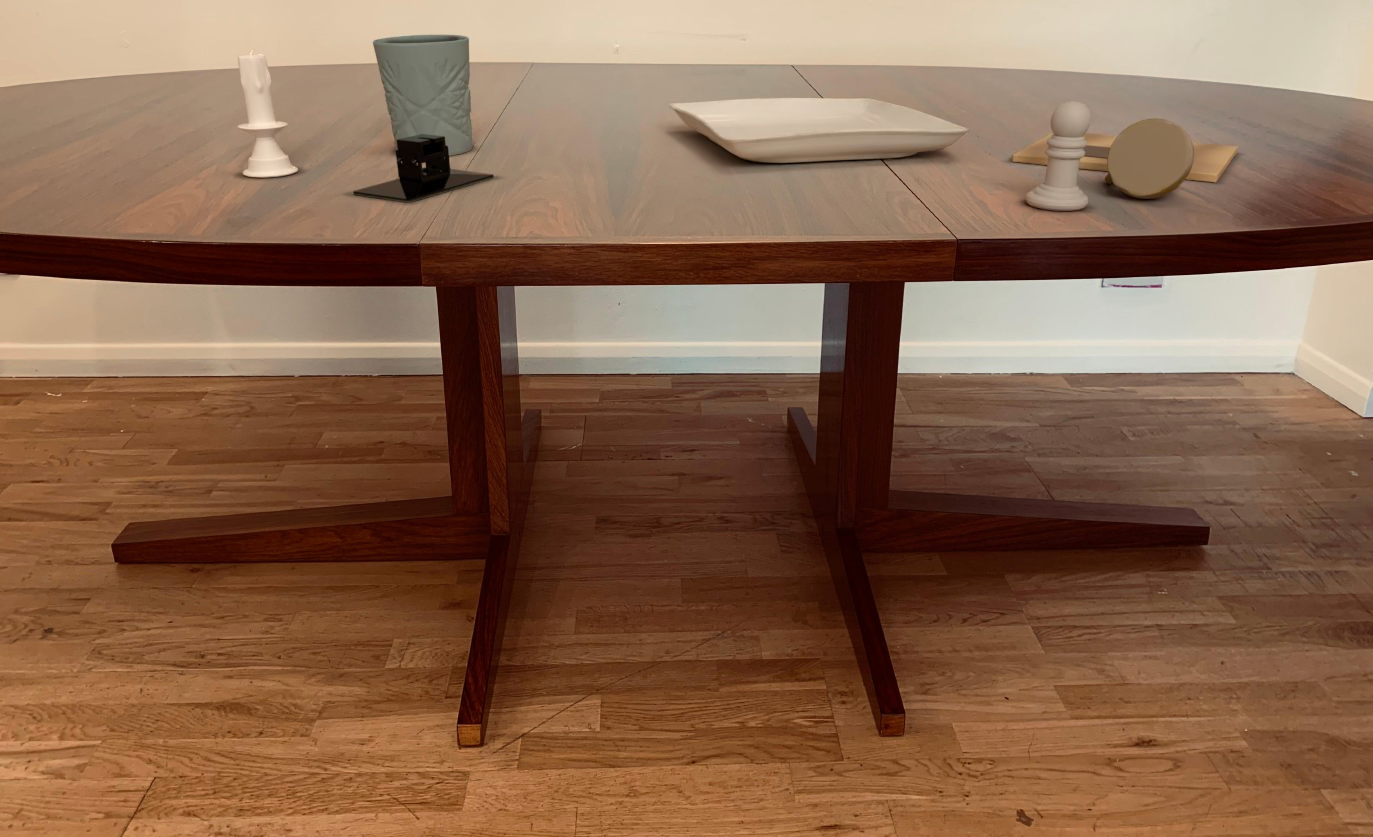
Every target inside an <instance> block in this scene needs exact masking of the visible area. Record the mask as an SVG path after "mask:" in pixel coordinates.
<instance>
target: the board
mask: <svg viewBox="0 0 1373 837" xmlns="http://www.w3.org/2000/svg"><path fill="white" fill-rule="evenodd" d="M1053 134H1054V133H1053V132H1050V133H1049V134H1047V135H1045V136H1044V137H1042V138H1040V139H1038V140H1036V141H1034V142H1033V143H1031V144H1029V145H1027V146H1025V147H1024V148H1022V149H1020V150H1018V151H1017V152H1015V153H1014V154H1012V159H1011V160H1012V161H1011V162H1013V163H1021V164H1029V165H1042V166H1047V162H1048V156H1047V155H1046V154H1045V151H1046V149H1047V148H1048V144H1047V139H1048V138H1050V137H1051V136H1052V135H1053ZM1083 136H1084V138H1085V140H1086V141H1087V145H1086V146H1085V147H1084V151H1085V156H1084V157H1082V158H1080V164H1079V169H1080V170H1088V171H1097V172H1107V173H1109V170H1108V164H1107V160H1108V153H1109V150H1110V147H1111V145H1112V143H1113V141H1114V140H1115V139H1116V137H1117V136H1118V135H1110V134H1099V133H1087V132H1086V133H1085V134H1084V135H1083ZM1192 143H1193V146H1194V161H1193V165H1192V168H1191V170H1190V173H1189V175H1188V176H1187V177H1186V179H1185V180H1188V181H1195V182H1196V181H1197V182H1206V183H1217V182H1218V180H1219V179H1220V177H1221V176H1222V174H1223V173H1224V172H1225V170H1226V169H1227V168H1228V166H1229V165H1230V163H1231V161H1233V159H1234V158H1235V156H1236V154H1237V152H1238V149H1239V146H1237V145H1226V144H1216V143H1203V142H1193V141H1192Z"/></svg>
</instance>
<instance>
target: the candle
mask: <svg viewBox="0 0 1373 837" xmlns="http://www.w3.org/2000/svg"><path fill="white" fill-rule="evenodd" d="M254 51H255V48H252V49H251V51H249V54H248V53H247V54H241V55H238V56H237V62H238V64H237V65H238V70H239V74H240V75H239V76H240V78H239V79H240V86H241V88H242V94H243V98H244V104H245V110H246V116H247V121H248V122H245V123H240V124H239V125H237V128H238V129H239V130H241V131H244V132H245V133H248V134H249V135H251V136H253V137H255V138H254V139H255V141H254V147H253V149H252V150H253V151H252V154H251V156H249V157H248V158H247V159H248V160H247V168H246V169H243V171H242V175H243V176H245V177H249V178H259V179H260V178H261V179H262V178H277V177H284V176H289V175H293V174H295V173H297V172H298V171H299V168H298V167H297V166H295V165H292V162H291V160H290V158H289V155H288V154H286V153H284V152H283V150H282V148H281V146H280V145H279V144H278V142H277V140H276V137H275V135H277V134H278V133H279V132H281V131H282V130H283V129H284V128H286V127H287V126H288V125H289V124H288V122H285V121H279V120H276V115H275V114H276V113H275V109H274V104H273V102H274V101H273V98H272V90H271V88H272V84H273V80H272V76H271V73H270V70H269V67H268V62H267V58H266V56H265V54H264V53H257V54H256V53H255V54H254V53H253V52H254Z"/></svg>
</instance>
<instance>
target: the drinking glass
mask: <svg viewBox="0 0 1373 837" xmlns="http://www.w3.org/2000/svg"><path fill="white" fill-rule="evenodd" d="M372 46H373V49H374V54H375V58H376V62H377V65H378V71H379V74H380V81H381V83H382V86H383V90H384V98H385V104H386V108H387V112H388V115H389V116H390V117H389V118H390V124H391V132H392V135H393V140H394V146H395V151H396V150H398V148H397V139H402V138H406V137H411V136H415V135H420V134H427V135H436V136H445V143H446V145H447V146H448V151H449V157H450V156H456V155H461V154H464V153H468V152H470V151H472V150H473V146H474V145H473V143H474V142H473V125H472V119H471V112H472V103H471V102H472V101H471V99H472V97H471V89H470V87H469V85H470V77H471V76H470V74H471V73H470V72H471V70H470V38H469V37H468V36H465V35H460V34H415V35H414V34H413V35H401V36H400V35H399V36H390V37H383V38H377V39H374V40H373V41H372Z"/></svg>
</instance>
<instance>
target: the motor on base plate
mask: <svg viewBox="0 0 1373 837" xmlns="http://www.w3.org/2000/svg"><path fill="white" fill-rule="evenodd" d="M397 148H398V150H396V149H395V159H396V166H397V175H398V178H396V179H393V180H388V181H384V182H381V183H377V184H373V185H370V186H367V187H362V188H359V189H355V190H353V192H352V193H353V195H354V196H360V197H367V198H375V199H381V200H388V201H394V202H400V203H401V202H403V203H412V202H416V201H420V200H425V199H427V198H430V197H433V196H437V195H440V194H444V193H448V192H450V191H454V190H457V189H460V188H464V187H468V186H471V185H474V184H478V183H481V182H484V181H487V180H491V179H494V177H495V175H494V173H487V172H477V171H469V170H462V169H461V170H459V169H454V168H451V162H450V156H449V151H448V146H447V145H446V143H445V136H436V135H427V134H420V135H415V136H411V137H406V138H402V139H397ZM423 164H425V167H423Z"/></svg>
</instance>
